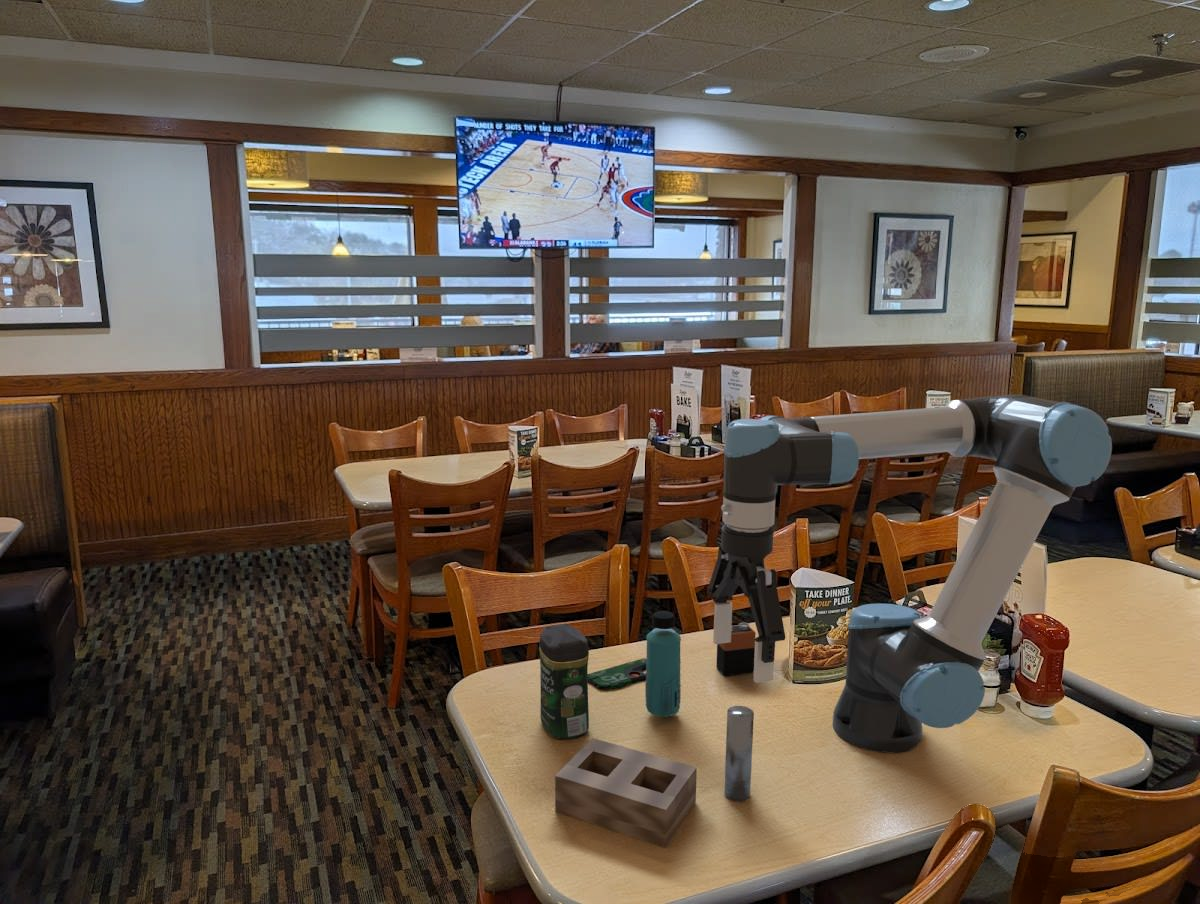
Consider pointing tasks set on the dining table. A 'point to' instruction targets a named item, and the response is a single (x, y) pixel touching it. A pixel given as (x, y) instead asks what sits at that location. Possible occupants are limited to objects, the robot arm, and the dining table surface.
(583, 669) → the coffee jar
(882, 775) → the dining table surface
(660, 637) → the beverage bottle
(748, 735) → the steel peg
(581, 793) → the peg block
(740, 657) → the battery
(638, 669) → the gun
